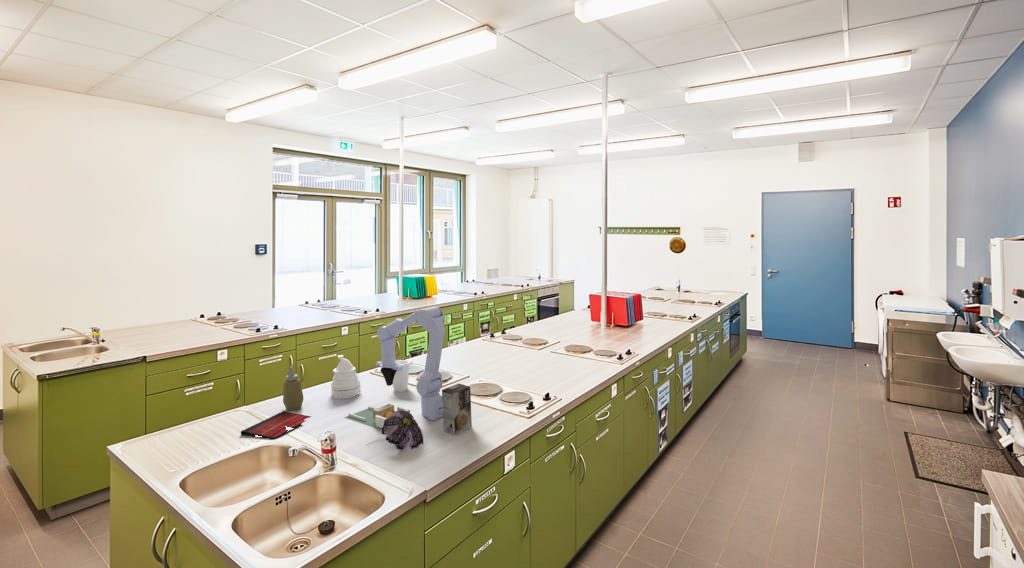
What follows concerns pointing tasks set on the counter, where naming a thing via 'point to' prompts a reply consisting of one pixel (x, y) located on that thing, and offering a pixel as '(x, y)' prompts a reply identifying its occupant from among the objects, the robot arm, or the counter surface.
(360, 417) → the pitch mat
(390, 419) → the decorative flower
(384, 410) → the block
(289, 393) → the squeeze bottle
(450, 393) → the coffee box
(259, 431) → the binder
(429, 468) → the counter surface
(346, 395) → the honey pot
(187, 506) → the counter surface
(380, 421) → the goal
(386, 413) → the ball
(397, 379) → the foam cup
